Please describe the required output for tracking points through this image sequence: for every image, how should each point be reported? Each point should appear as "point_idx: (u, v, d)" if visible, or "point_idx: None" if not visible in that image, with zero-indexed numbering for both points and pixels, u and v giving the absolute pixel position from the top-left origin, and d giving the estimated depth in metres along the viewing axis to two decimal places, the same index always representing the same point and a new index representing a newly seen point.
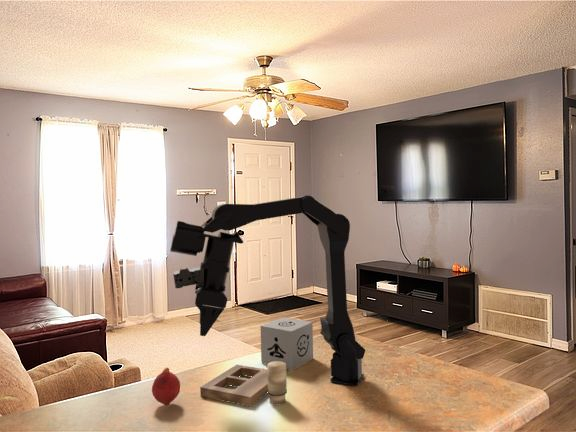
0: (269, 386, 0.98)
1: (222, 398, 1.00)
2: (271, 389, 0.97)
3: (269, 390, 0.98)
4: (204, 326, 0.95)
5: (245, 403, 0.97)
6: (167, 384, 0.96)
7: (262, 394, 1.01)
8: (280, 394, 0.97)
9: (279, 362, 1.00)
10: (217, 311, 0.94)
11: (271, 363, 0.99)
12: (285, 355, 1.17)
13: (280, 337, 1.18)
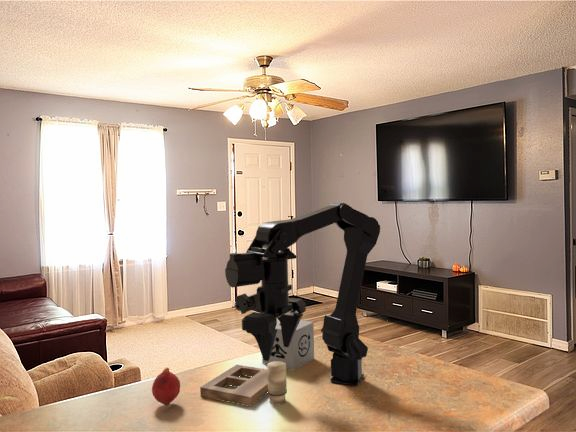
0: (269, 386, 0.98)
1: (222, 398, 1.00)
2: (271, 389, 0.97)
3: (269, 390, 0.98)
4: (263, 351, 0.94)
5: (245, 403, 0.97)
6: (167, 384, 0.96)
7: (262, 394, 1.01)
8: (280, 394, 0.97)
9: (279, 362, 1.00)
10: (269, 335, 0.92)
11: (271, 363, 0.99)
12: (286, 355, 1.17)
13: (281, 337, 1.18)
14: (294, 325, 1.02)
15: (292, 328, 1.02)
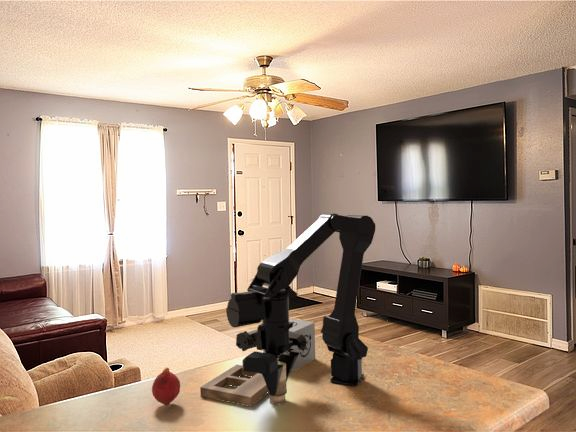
0: None
1: (222, 398, 1.00)
2: None
3: None
4: (270, 386, 0.96)
5: (245, 403, 0.97)
6: (167, 384, 0.96)
7: (262, 394, 1.01)
8: (280, 394, 0.97)
9: (279, 362, 1.00)
10: (275, 372, 0.94)
11: None
12: None
13: None
14: (290, 365, 1.00)
15: (288, 368, 1.00)
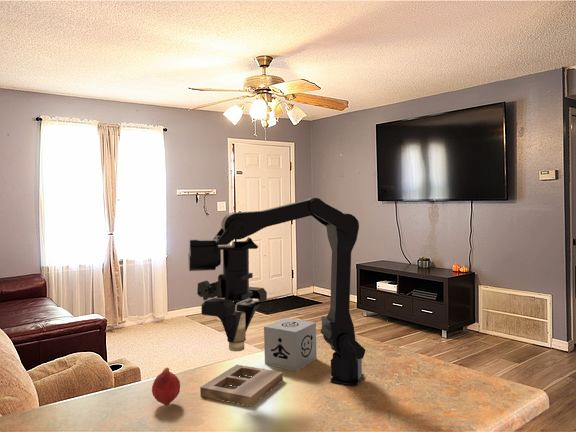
0: None
1: (222, 398, 1.00)
2: None
3: None
4: (228, 332, 0.99)
5: (245, 403, 0.97)
6: (167, 384, 0.96)
7: (262, 394, 1.01)
8: (239, 341, 1.00)
9: (239, 311, 1.03)
10: (233, 318, 0.97)
11: None
12: (289, 356, 1.17)
13: (284, 338, 1.17)
14: (249, 315, 1.03)
15: (247, 318, 1.04)
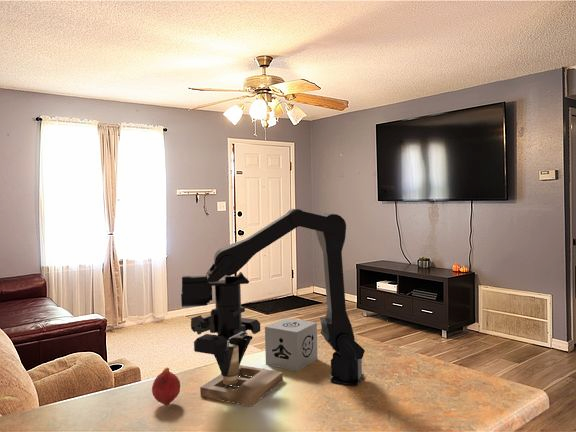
0: None
1: (222, 398, 1.00)
2: None
3: None
4: (222, 367, 1.01)
5: (245, 403, 0.97)
6: (167, 384, 0.96)
7: (262, 394, 1.01)
8: (232, 375, 1.02)
9: (232, 345, 1.05)
10: (226, 353, 0.99)
11: None
12: (290, 356, 1.17)
13: (285, 338, 1.17)
14: (243, 348, 1.05)
15: (241, 351, 1.05)
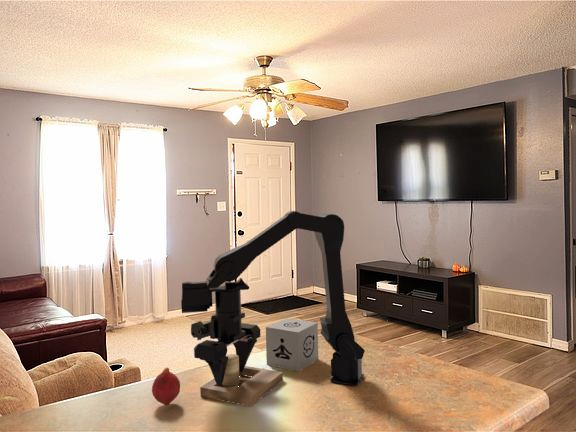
0: None
1: (222, 398, 1.00)
2: (224, 380, 1.02)
3: None
4: (216, 376, 0.99)
5: (245, 403, 0.97)
6: (167, 384, 0.96)
7: (262, 394, 1.01)
8: (232, 385, 1.02)
9: (233, 355, 1.05)
10: (220, 362, 0.97)
11: None
12: (291, 356, 1.16)
13: (286, 338, 1.17)
14: (248, 351, 1.07)
15: (246, 353, 1.07)
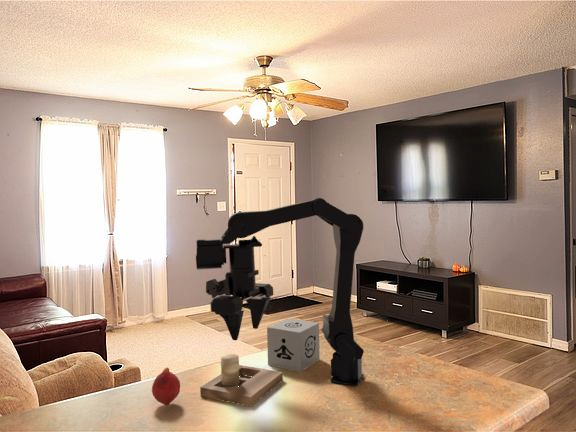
0: (222, 377, 1.03)
1: (222, 398, 1.00)
2: (224, 380, 1.02)
3: (222, 381, 1.03)
4: (232, 331, 1.01)
5: (245, 403, 0.97)
6: (167, 384, 0.96)
7: (262, 394, 1.01)
8: (232, 385, 1.02)
9: (233, 355, 1.05)
10: (236, 316, 0.99)
11: (225, 356, 1.05)
12: (293, 356, 1.16)
13: (288, 338, 1.17)
14: (262, 308, 1.09)
15: (260, 311, 1.09)
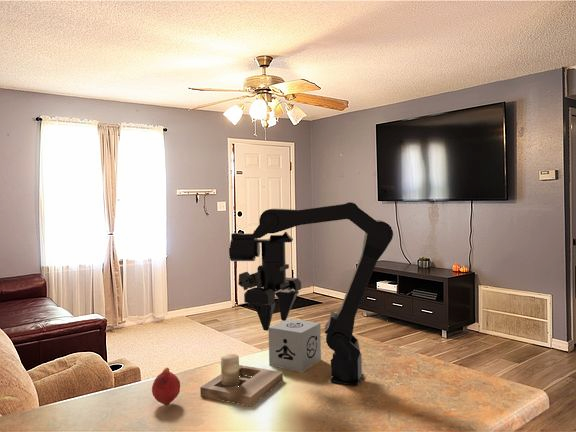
0: (222, 377, 1.03)
1: (222, 398, 1.00)
2: (224, 380, 1.02)
3: (222, 381, 1.03)
4: (263, 322, 1.06)
5: (245, 403, 0.97)
6: (167, 384, 0.96)
7: (262, 394, 1.01)
8: (232, 385, 1.02)
9: (233, 355, 1.05)
10: (268, 307, 1.04)
11: (225, 356, 1.05)
12: (295, 357, 1.16)
13: (289, 339, 1.17)
14: (291, 301, 1.14)
15: (289, 303, 1.14)
